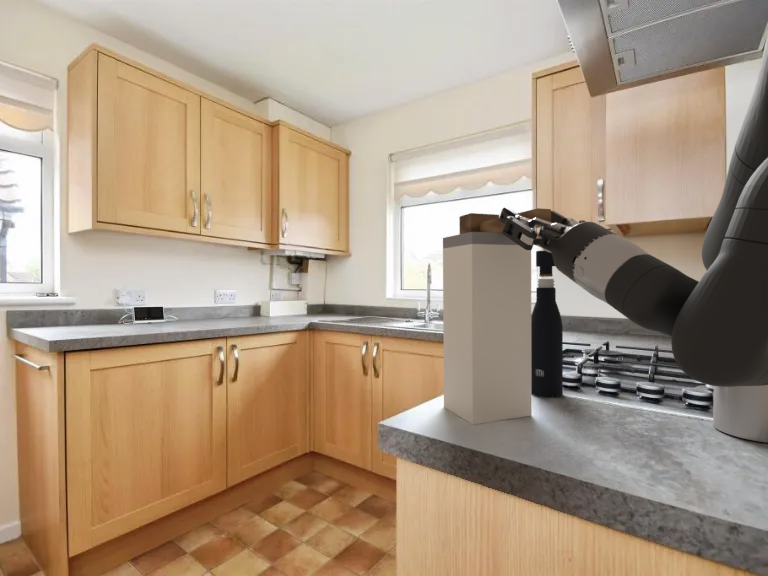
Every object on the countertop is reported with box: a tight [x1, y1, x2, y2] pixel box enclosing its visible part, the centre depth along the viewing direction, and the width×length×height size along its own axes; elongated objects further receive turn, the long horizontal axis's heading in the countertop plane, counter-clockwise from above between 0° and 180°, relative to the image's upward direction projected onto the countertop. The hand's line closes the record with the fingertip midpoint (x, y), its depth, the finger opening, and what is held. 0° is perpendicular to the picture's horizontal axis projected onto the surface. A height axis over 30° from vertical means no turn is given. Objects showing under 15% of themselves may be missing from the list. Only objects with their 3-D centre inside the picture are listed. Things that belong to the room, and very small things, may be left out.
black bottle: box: [531, 250, 564, 399], centre depth 85 cm, size 6×6×30 cm
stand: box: [442, 232, 533, 425], centre depth 74 cm, size 10×12×32 cm
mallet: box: [458, 207, 552, 234], centre depth 68 cm, size 19×6×4 cm, turn 20°
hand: (525, 215), depth 63 cm, fingers open, 8 cm apart
